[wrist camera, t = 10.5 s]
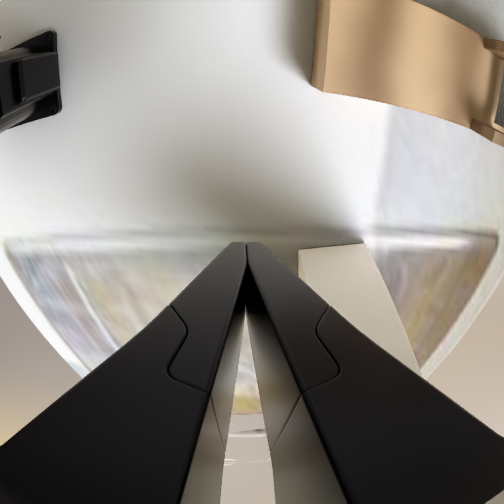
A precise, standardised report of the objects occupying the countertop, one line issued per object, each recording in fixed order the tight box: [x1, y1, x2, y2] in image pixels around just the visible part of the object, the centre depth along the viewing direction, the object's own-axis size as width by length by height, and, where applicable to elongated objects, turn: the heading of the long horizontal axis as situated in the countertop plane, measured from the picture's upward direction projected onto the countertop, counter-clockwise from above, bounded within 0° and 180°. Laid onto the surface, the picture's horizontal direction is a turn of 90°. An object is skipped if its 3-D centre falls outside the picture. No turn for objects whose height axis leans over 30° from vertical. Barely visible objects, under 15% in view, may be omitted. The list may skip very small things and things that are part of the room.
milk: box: [298, 243, 422, 377], centre depth 17 cm, size 6×6×22 cm
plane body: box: [311, 0, 504, 147], centre depth 11 cm, size 18×7×5 cm, turn 88°
